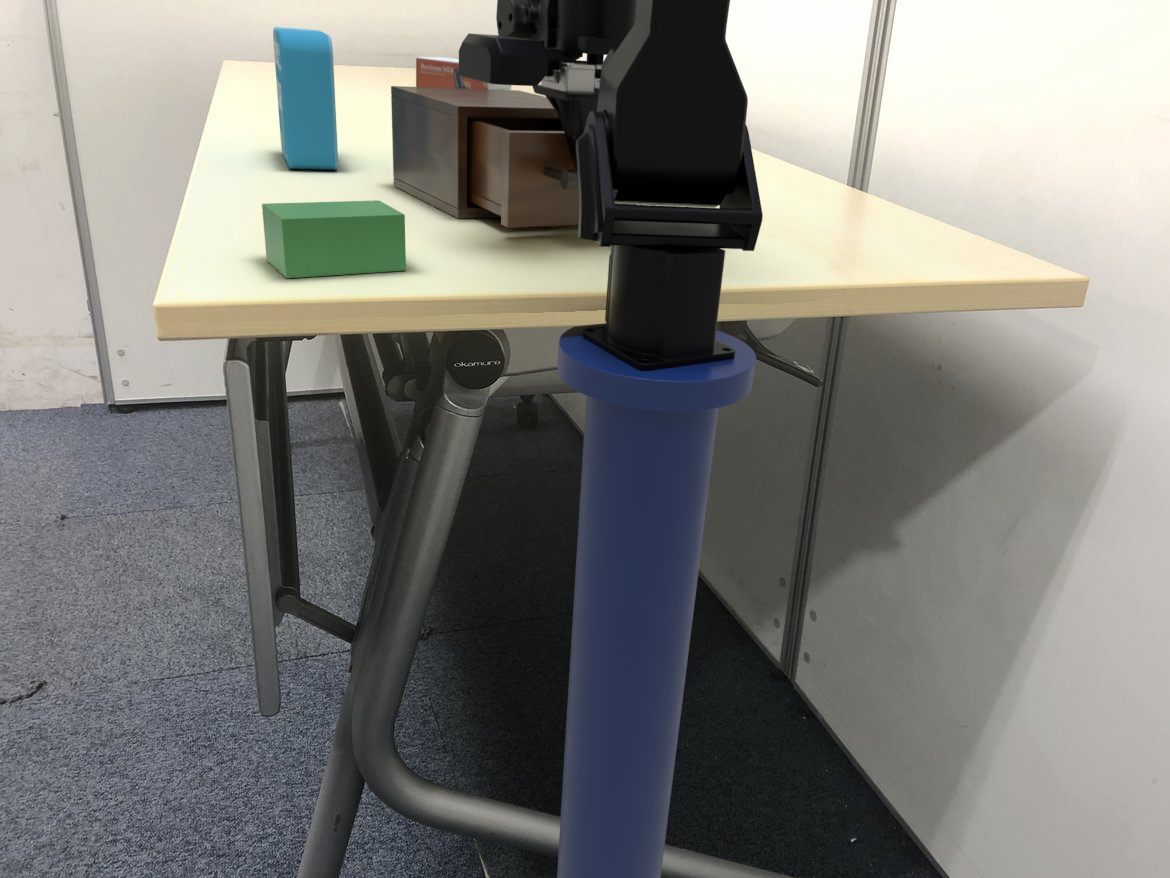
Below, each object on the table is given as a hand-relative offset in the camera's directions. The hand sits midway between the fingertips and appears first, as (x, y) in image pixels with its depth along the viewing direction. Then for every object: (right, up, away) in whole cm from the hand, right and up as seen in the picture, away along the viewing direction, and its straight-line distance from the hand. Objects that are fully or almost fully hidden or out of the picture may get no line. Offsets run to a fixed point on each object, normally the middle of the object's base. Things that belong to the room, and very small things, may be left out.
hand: (587, 189), depth 74 cm
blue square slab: (-29, +10, +25) cm, 39 cm away
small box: (-14, +10, +27) cm, 33 cm away
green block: (-16, -8, -11) cm, 21 cm away
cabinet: (-10, +3, +14) cm, 17 cm away
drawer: (-4, 0, +6) cm, 7 cm away
